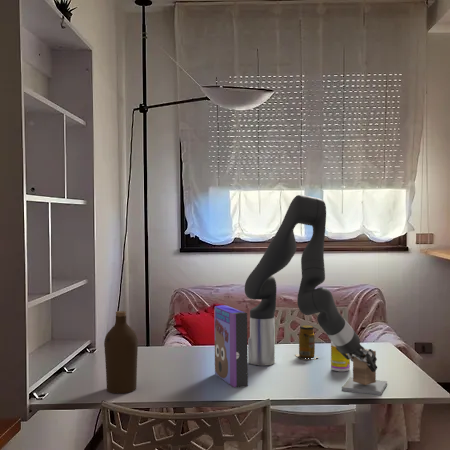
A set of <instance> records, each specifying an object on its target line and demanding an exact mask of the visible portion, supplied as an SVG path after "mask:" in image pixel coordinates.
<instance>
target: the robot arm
mask: <svg viewBox="0 0 450 450" xmlns="http://www.w3.org/2000/svg"><path fill="white" fill-rule="evenodd" d="M281 221H282V222H281V223H280V225H279V228H277V231H276V233H275V235H274V236H273V238H272V239H271V241H270V243H269V244H268V246H267V247H266V249H265V252H264V254H263V255H262V257H261V259H260V260H259V262H257V265H256V266H255V267H254V269H253V270H252V271H251V272H250V274H249V275H248V276H247V277H246V279H245V284H244V294H245V296H246V297H247V298H248V299H250V300H254V301H255V300H261V301H260V302H259V303H258V304H257V305H256V306H254V307H253V308H251V309H250V310H249V337H247V348H248V364H251V365H255V366H263V367H264V366H270V365H272V366H273V365H274V364H275V362H276V360H275V359H276V358H275V357H276V356H275V354H276V352H275V351H276V350H275V349H276V347H275V344H276V342H275V340H276V339H275V336H276V335H275V313H276V310H277V309H276V308H277V281H276V279H275V277H274V276H273V275H275V274H277V273H278V272H280V271H282V270H283V269H284V268H286V267H287V266H288V265H289V264H290V262H291V260H292V259H293V257H294V256H295V255H296V252H297V248H298V247H297V242H296V240H297V239H296V236H295V232H294V229H295V227H296V226H297V225H298V224H301V225H306V226H312V235H311V238H310V240H309V242H308V243H307V245H306V246H305V247H304V249H303V251H302V254H301V257H300V258H301V259H300V263H301V264H300V265H301V267H300V268H301V280H300V285H299V289H298V293H297V307H298V310H299V312H301V314H303V315H305V316H312V315H315V314H317V318H316V320H317V321H316V322H317V323H318V325H319V326H320V327H321V329H322V330H323V331H324V333H325V334H326V335H327V337H328V338H329V340H330V342H333V344H334V345H335V346H336V349H337V350H338V351H339V352H340V353H341V354H342V355H343V356H344V357H345V358H346V359H348V360H349V359H350V362H352V363H353V359H354V357H356V358H357V359H359V360H360V361H361V362H364V363H366V365H367V366H368V367H369V368H370V369H371V371H372V372H375V371H377V369H378V366H377V364H375V362H376V363H377V360H378V359H377V355H376V356H375V354H374V352H373V351H374V350H373V351H372V348H371V349H370V348H369V351H367V350H365V349H366V348H365V347H364V346H362V344H361V339H360V336H359V334H357V333H356V331H355V330H354V328H353V327H352V326H351V325H350V324H349V322H348V321H347V320H346V319H345V318H344V317H343V316H342V315H341V313H340V312H339V310H338V307H337V306H336V303H335V300H334V297H333V294H332V292H331V291H330V290H329V288H326V287H321V286H320V287H318V286H319V285H321V284H323V283H324V282H325V279H326V270H325V259H324V258H325V257H324V252H325V249H324V248H325V239H326V238H325V236H326V227H327V226H326V222H327V206H326V202H325V201H324V200H323V199H322V198H319V197H315V196H314V197H313V196H309V195H303V194H298V195H296V196H295V197H293V199H292V200H291V202H290V203H289V206H288V208H287V210H286V213H285V215H284V217H283V220H281ZM317 287H318V288H317ZM364 348H365V349H364ZM346 354H347V355H346ZM364 354H365V356H363V355H364ZM362 356H363V358H362ZM366 359H367V360H368V362H367V361H366Z"/></svg>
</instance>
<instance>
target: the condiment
mask: <svg viewBox="0 0 450 450" xmlns="http://www.w3.org/2000/svg"><path fill="white" fill-rule="evenodd" d="M314 332H315V330H314V326H313V325H310V324H306V325H304V324H303V325H300V326H299V334H298V353H297V354H295V356H296V357H297V358H299V359H301V360H305V361H306V360H307V361H310V359H311V358H313V357H314V356H315V352H316V350H315V349H316V348H315V347H316V344H315V339H316V337H315V333H314ZM305 358H306V359H305ZM308 358H309V359H308ZM316 358H319V357H318V356H316ZM316 358H314V360H317V359H316ZM311 360H313V359H311Z"/></svg>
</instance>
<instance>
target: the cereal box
mask: <svg viewBox="0 0 450 450" xmlns="http://www.w3.org/2000/svg"><path fill="white" fill-rule="evenodd" d="M213 311H214V314H213V315H214V375H215V376H217V377H218V378H219V379H221V380H223V381H224V382H225V383H226V384H228V385H229V386H231V387H232V388H233V389H237V388H244V387H248V386H249V385H248V384H249V377H248V374H249V373H248V371H249V369H248V368H249V367H248V366H249V365H248V364H249V363H248V313H247V312H245V311H243V310H240V309H237V308H234V307H232V306H229V305H223V304H221V305H216V306H214V310H213Z"/></svg>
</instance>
